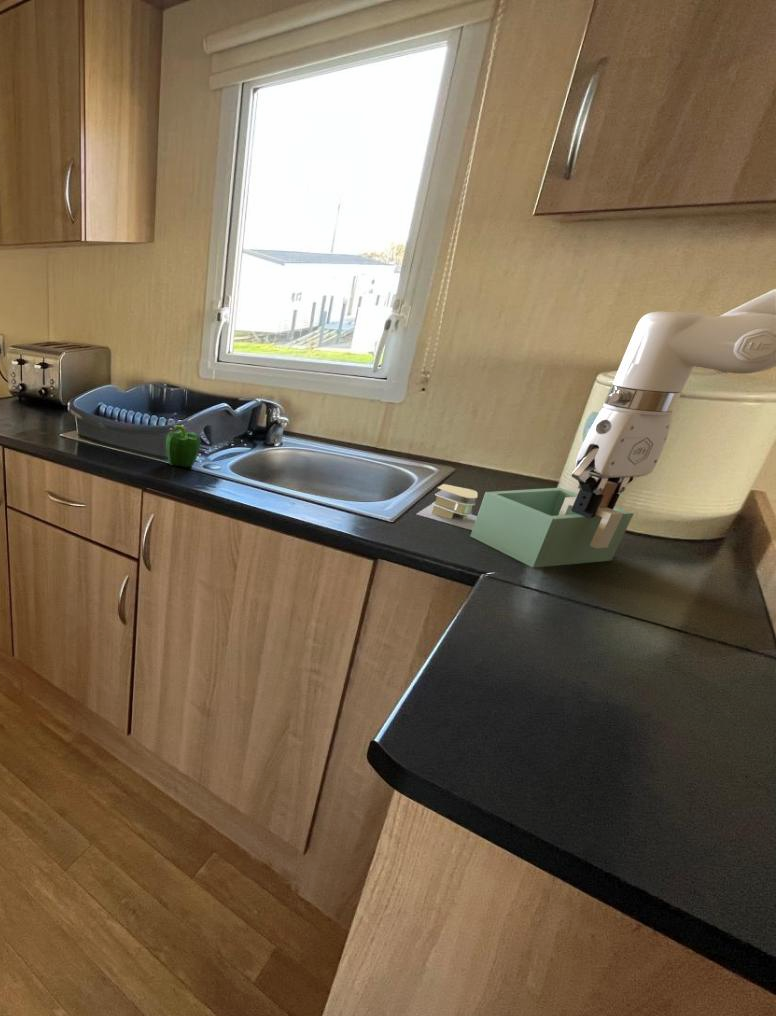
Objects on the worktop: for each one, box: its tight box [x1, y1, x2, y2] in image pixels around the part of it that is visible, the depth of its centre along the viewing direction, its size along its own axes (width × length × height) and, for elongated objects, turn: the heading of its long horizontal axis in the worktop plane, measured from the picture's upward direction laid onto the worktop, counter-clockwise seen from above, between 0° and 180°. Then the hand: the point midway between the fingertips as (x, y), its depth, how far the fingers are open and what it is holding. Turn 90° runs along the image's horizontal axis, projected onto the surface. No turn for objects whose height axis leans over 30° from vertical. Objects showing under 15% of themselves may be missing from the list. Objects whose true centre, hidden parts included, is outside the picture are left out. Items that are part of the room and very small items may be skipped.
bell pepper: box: [165, 425, 201, 468], centre depth 136 cm, size 8×8×10 cm
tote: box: [470, 487, 634, 569], centre depth 96 cm, size 16×12×9 cm
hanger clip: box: [559, 478, 623, 548], centre depth 89 cm, size 2×7×10 cm, turn 11°
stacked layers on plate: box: [416, 483, 479, 531], centre depth 109 cm, size 10×9×6 cm
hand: (590, 513), depth 89 cm, fingers closed on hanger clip, 2 cm apart
